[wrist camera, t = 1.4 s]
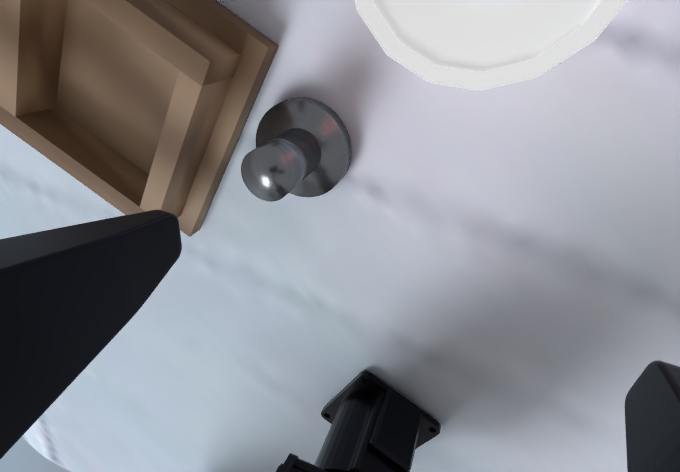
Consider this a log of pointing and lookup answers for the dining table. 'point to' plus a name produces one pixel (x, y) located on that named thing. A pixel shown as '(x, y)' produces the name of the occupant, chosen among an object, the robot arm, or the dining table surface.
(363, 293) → the dining table surface
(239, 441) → the dining table surface
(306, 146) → the knob
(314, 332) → the dining table surface
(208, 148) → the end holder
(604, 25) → the beverage cup
